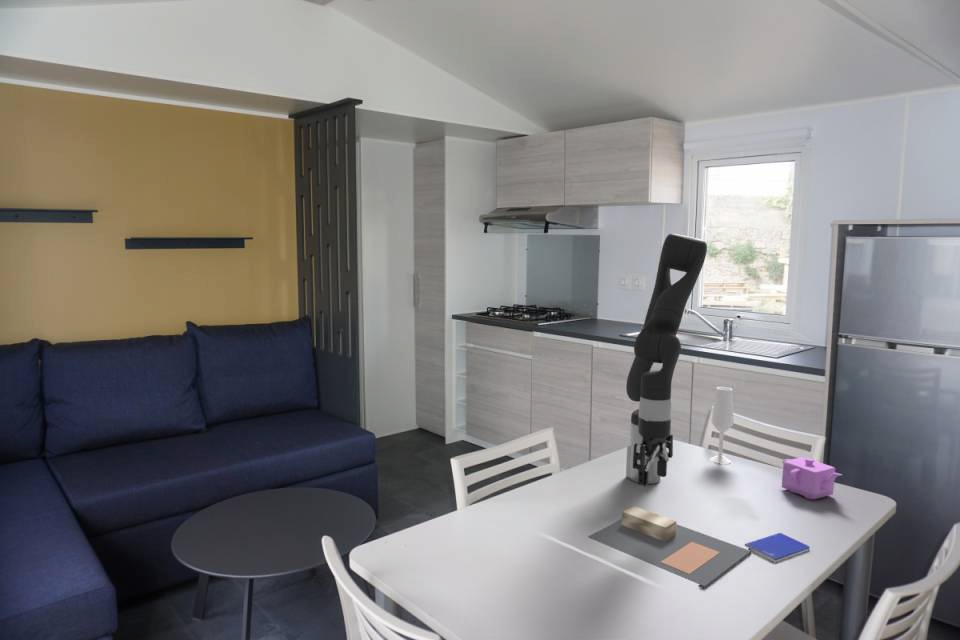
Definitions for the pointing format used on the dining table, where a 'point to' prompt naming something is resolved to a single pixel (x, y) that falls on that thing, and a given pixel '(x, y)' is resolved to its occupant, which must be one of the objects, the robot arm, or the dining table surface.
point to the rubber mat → (676, 551)
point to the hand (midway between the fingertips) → (652, 480)
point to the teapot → (808, 477)
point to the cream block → (649, 523)
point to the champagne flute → (722, 418)
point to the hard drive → (777, 547)
